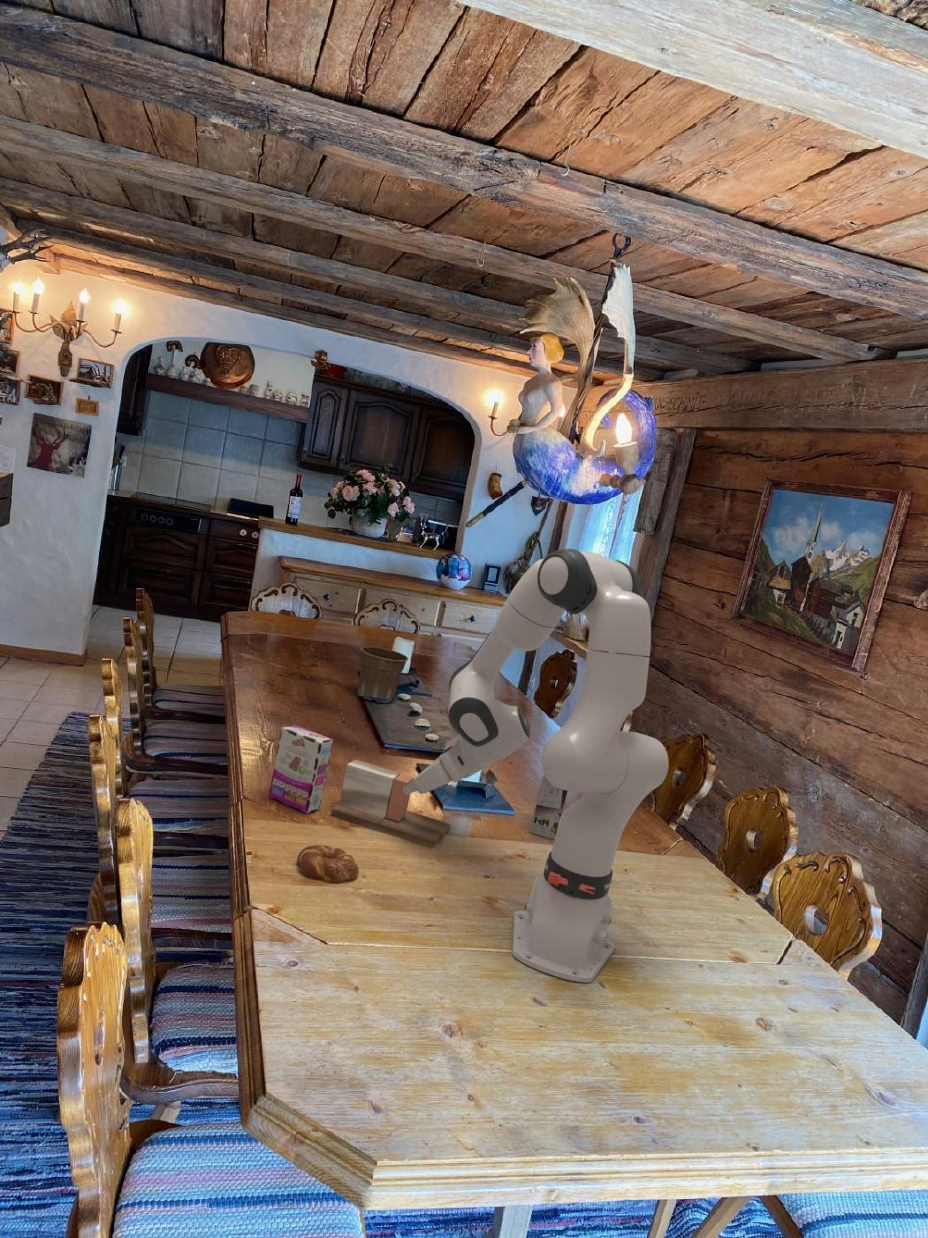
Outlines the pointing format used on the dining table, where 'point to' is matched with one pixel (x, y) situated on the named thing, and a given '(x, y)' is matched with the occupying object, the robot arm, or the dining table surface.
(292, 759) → the candy bar box
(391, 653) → the plant pot
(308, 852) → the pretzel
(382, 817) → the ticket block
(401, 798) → the stub
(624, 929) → the dining table surface
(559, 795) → the coffee box
